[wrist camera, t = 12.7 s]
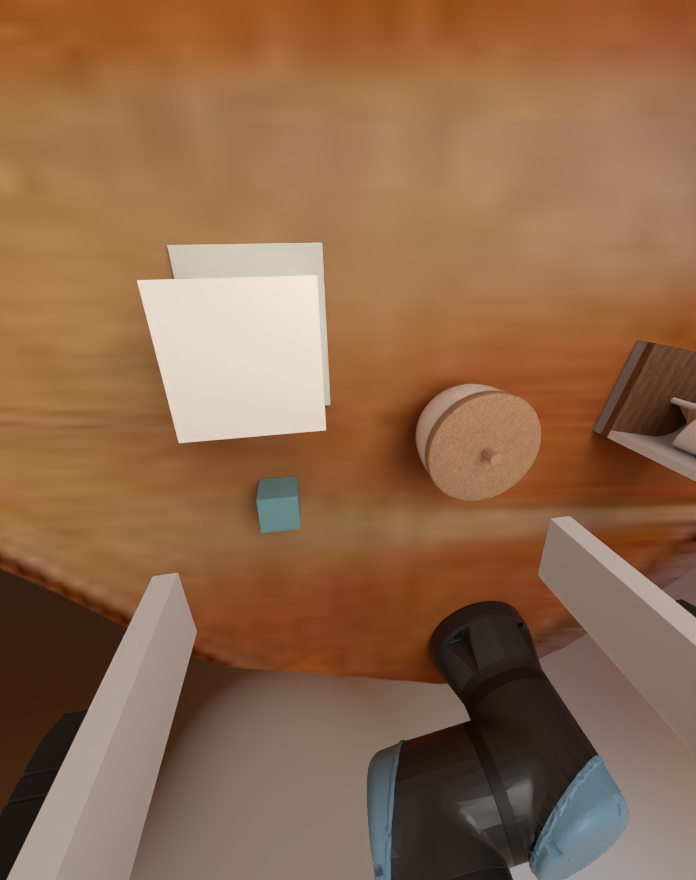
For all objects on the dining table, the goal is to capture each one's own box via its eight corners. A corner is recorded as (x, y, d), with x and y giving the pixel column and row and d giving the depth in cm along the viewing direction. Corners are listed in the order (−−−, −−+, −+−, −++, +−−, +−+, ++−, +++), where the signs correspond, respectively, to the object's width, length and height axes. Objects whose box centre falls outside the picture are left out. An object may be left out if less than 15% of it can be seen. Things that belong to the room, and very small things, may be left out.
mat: (329, 403, 35) (330, 405, 34) (205, 412, 33) (203, 414, 33) (321, 243, 29) (322, 242, 28) (169, 245, 27) (167, 245, 27)
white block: (313, 381, 33) (326, 430, 22) (215, 388, 32) (178, 443, 21) (306, 277, 29) (317, 275, 19) (194, 280, 28) (136, 280, 17)
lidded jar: (389, 395, 36) (421, 431, 27) (487, 355, 35) (549, 378, 27) (416, 477, 40) (450, 529, 32) (502, 441, 40) (560, 485, 32)
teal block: (299, 506, 40) (300, 528, 36) (263, 509, 39) (261, 533, 35) (296, 475, 38) (297, 496, 34) (259, 479, 37) (256, 500, 34)
